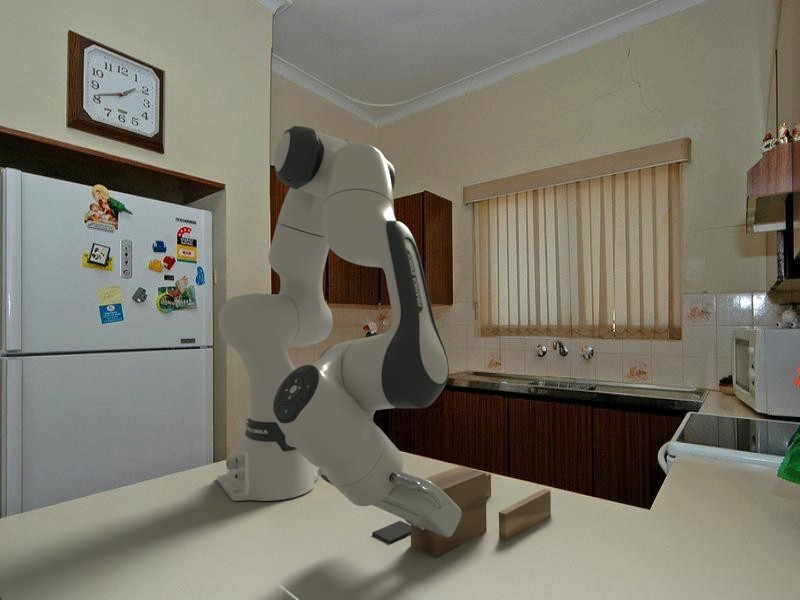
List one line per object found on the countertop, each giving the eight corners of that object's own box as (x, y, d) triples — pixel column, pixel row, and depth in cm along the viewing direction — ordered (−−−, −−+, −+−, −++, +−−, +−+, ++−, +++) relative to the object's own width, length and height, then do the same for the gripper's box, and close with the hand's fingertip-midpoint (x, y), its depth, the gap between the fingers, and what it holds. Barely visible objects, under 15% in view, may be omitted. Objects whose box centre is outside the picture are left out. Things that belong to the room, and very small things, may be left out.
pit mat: (372, 534, 71) (372, 532, 71) (399, 523, 75) (399, 520, 75) (389, 543, 68) (389, 541, 68) (417, 530, 72) (417, 528, 72)
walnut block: (410, 545, 67) (410, 483, 68) (461, 520, 76) (461, 465, 76) (436, 557, 64) (435, 492, 64) (486, 530, 72) (485, 472, 72)
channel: (438, 514, 78) (438, 491, 78) (485, 493, 88) (485, 472, 88) (505, 541, 68) (505, 514, 69) (550, 514, 78) (550, 490, 78)
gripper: (439, 463, 53) (489, 524, 60) (336, 433, 68) (384, 484, 74) (413, 513, 50) (468, 572, 56) (310, 470, 65) (363, 520, 71)
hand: (419, 522), depth 65 cm, fingers closed, pressing on walnut block
